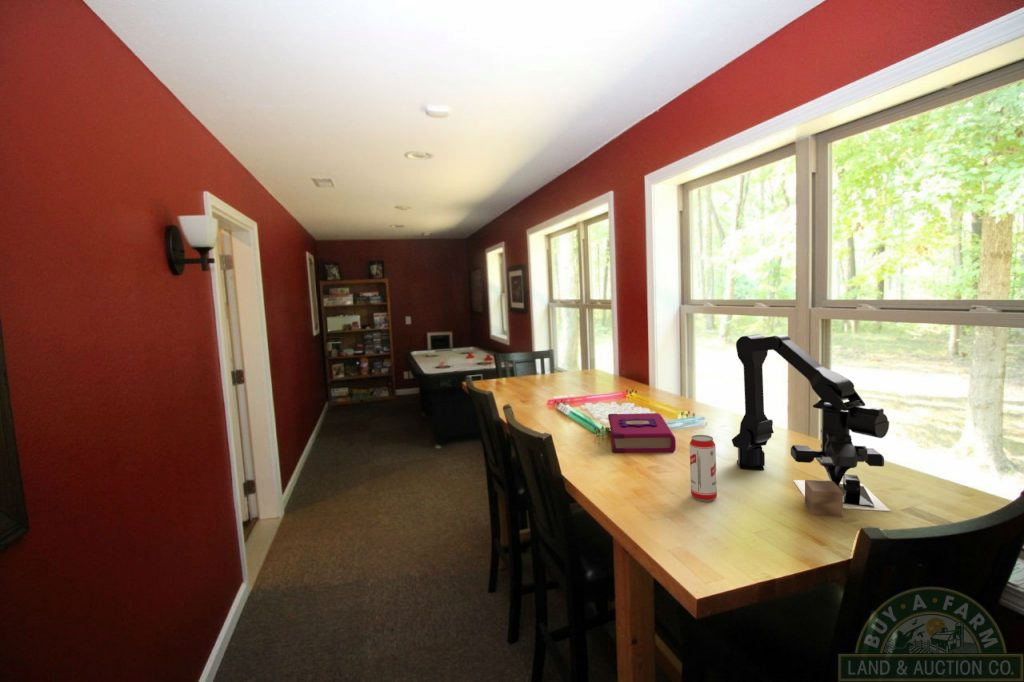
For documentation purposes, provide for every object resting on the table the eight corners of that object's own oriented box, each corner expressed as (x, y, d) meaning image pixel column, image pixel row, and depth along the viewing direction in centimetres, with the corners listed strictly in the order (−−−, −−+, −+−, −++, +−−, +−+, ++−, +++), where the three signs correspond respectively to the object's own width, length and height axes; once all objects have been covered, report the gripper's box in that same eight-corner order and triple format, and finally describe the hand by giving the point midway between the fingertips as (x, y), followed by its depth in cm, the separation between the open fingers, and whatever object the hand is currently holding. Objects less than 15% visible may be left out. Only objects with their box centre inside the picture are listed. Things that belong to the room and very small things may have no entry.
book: (662, 430, 183) (661, 411, 182) (676, 453, 156) (675, 431, 155) (608, 431, 186) (607, 412, 186) (612, 454, 159) (611, 432, 158)
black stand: (874, 508, 109) (874, 489, 109) (837, 503, 113) (837, 485, 112) (863, 487, 120) (863, 469, 120) (829, 483, 124) (829, 466, 123)
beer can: (715, 493, 123) (714, 434, 121) (718, 503, 117) (716, 442, 115) (690, 491, 125) (688, 433, 123) (691, 501, 119) (689, 441, 118)
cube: (812, 515, 108) (812, 490, 107) (804, 503, 114) (804, 479, 113) (842, 517, 106) (842, 492, 105) (833, 504, 112) (833, 481, 111)
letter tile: (810, 506, 112) (810, 504, 112) (792, 480, 128) (792, 479, 128) (890, 511, 108) (890, 510, 107) (861, 484, 123) (861, 483, 123)
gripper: (801, 436, 112) (801, 498, 113) (895, 439, 106) (894, 505, 107) (790, 423, 122) (790, 480, 123) (874, 425, 116) (873, 485, 118)
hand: (834, 488), depth 118 cm, fingers closed
